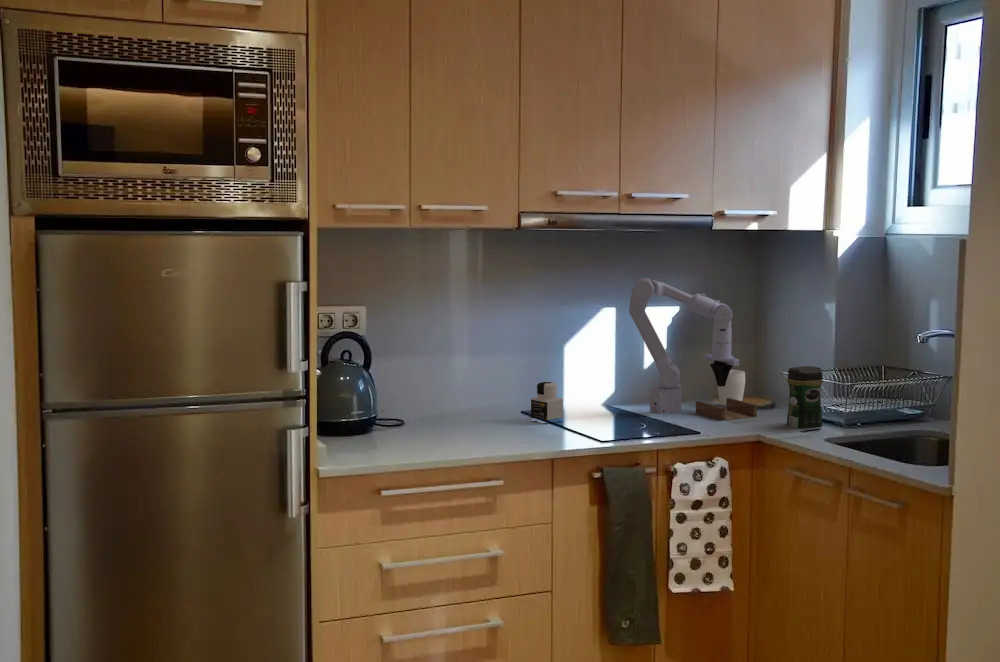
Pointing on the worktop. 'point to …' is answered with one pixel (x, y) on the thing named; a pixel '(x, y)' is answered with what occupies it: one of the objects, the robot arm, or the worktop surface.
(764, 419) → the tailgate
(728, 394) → the cup
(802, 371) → the coffee jar
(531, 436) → the worktop surface
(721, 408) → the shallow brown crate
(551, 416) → the medicine bottle
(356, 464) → the worktop surface
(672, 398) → the robot arm
